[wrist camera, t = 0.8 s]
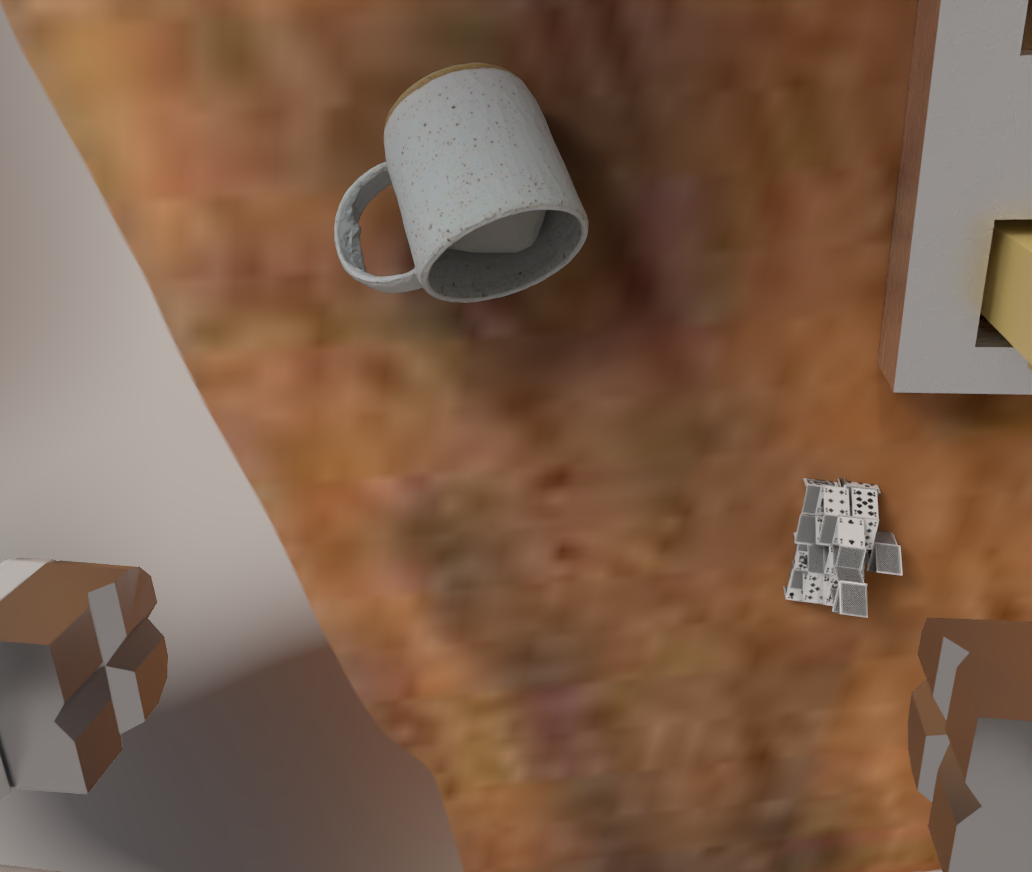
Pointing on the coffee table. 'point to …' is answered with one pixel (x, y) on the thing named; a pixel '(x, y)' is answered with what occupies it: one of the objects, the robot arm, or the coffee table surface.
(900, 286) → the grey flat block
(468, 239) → the ceramic mug
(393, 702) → the coffee table surface
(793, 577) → the house of cards
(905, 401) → the coffee table surface
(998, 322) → the plug
